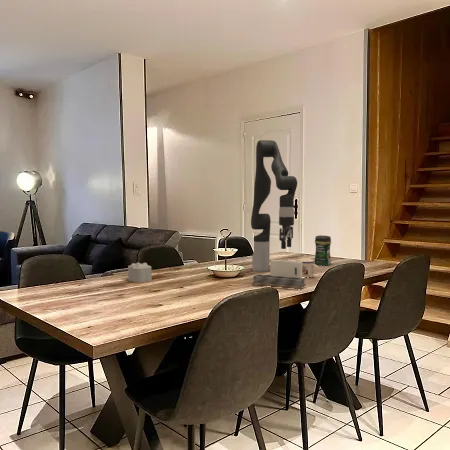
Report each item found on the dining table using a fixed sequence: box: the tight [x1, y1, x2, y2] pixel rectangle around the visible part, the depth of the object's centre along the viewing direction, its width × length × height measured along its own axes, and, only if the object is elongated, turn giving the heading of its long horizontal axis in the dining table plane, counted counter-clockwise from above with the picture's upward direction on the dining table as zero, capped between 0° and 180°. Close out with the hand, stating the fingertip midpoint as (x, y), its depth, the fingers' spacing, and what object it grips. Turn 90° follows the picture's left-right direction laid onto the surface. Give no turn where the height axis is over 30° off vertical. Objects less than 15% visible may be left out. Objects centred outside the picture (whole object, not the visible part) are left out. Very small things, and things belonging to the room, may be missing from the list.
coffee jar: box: [314, 234, 332, 267], centre depth 280 cm, size 10×8×19 cm
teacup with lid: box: [297, 254, 319, 278], centre depth 240 cm, size 12×9×12 cm
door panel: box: [270, 259, 302, 278], centre depth 227 cm, size 16×3×11 cm, turn 63°
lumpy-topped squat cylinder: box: [127, 262, 152, 283], centre depth 235 cm, size 10×13×9 cm
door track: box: [251, 273, 306, 289], centre depth 218 cm, size 24×9×4 cm, turn 63°
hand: (286, 247), depth 226 cm, fingers open, 8 cm apart
